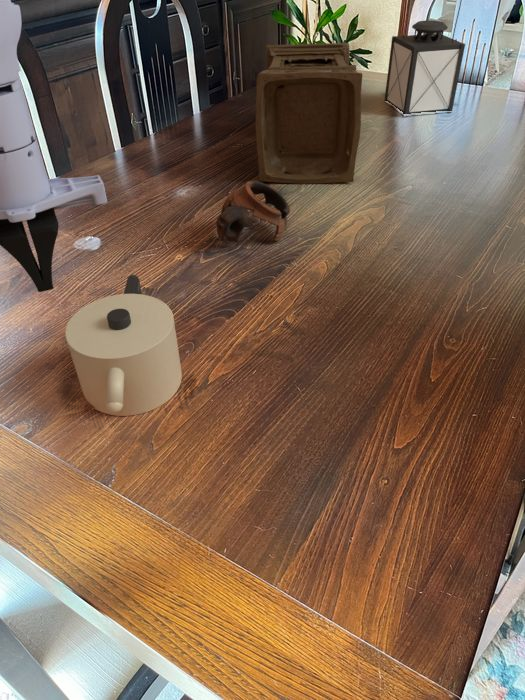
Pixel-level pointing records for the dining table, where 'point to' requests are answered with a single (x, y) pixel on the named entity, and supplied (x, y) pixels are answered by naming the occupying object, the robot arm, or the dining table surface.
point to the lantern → (424, 69)
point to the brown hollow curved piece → (244, 200)
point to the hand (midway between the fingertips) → (44, 285)
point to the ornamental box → (308, 114)
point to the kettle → (125, 352)
